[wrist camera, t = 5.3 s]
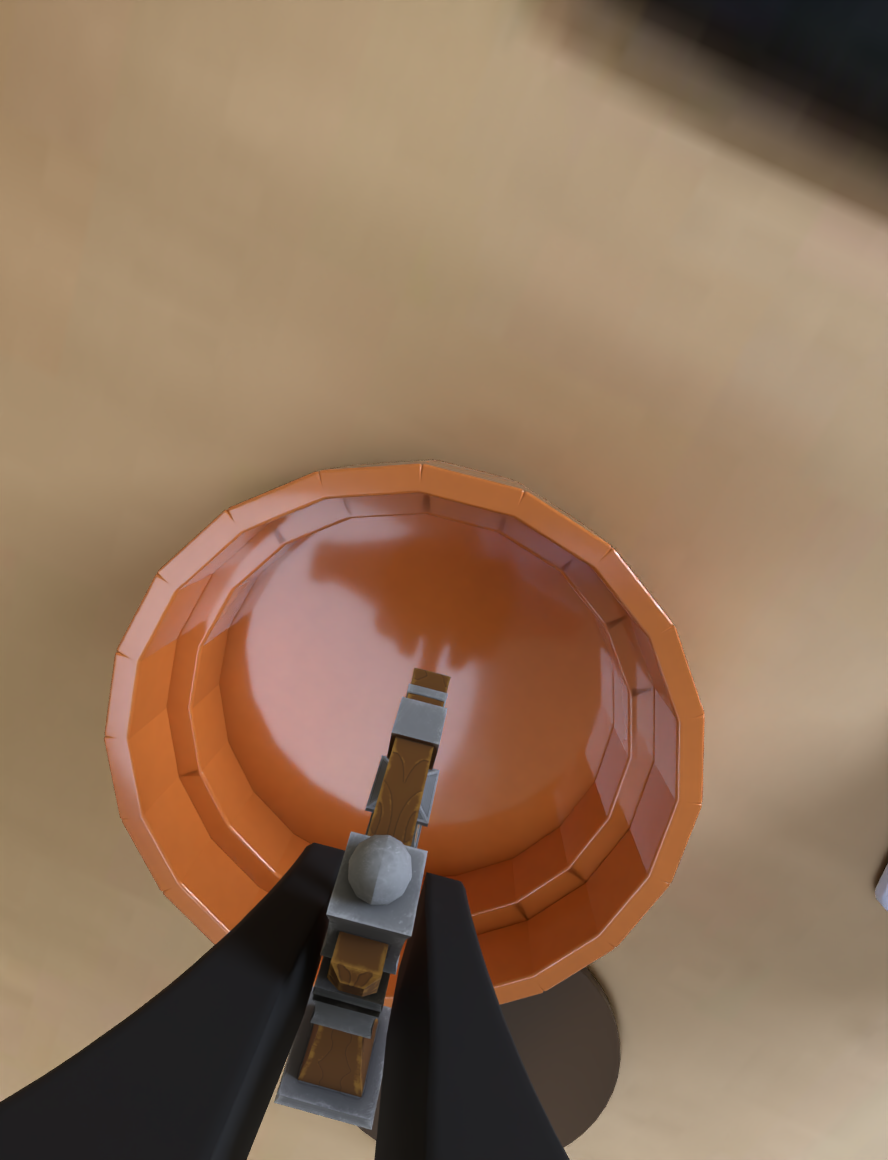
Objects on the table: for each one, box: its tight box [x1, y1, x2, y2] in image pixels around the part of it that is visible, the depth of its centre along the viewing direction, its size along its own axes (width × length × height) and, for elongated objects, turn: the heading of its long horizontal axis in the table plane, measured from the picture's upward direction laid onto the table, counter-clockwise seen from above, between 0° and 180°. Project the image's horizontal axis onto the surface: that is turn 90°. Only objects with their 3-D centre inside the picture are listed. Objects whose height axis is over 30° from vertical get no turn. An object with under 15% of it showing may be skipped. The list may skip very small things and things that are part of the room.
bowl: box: [104, 459, 705, 1008], centre depth 16 cm, size 14×14×4 cm
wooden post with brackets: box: [274, 668, 451, 1130], centre depth 10 cm, size 2×8×4 cm, turn 167°
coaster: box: [358, 967, 620, 1148], centre depth 20 cm, size 10×10×1 cm
